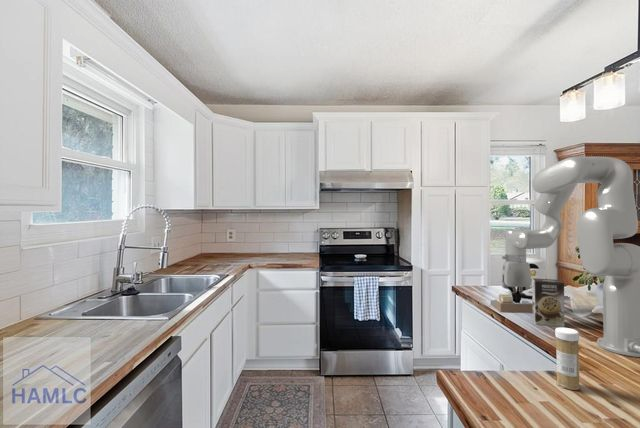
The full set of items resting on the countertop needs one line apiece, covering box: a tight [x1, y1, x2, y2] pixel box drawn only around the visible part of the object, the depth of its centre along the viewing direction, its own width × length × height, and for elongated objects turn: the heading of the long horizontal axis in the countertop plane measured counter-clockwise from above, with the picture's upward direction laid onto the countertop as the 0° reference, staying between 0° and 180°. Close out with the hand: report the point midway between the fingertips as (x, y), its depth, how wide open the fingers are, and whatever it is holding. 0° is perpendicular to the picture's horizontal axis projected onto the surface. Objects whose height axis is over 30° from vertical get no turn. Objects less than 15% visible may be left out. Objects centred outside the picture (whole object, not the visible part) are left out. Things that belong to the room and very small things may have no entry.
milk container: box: [507, 256, 547, 299], centre depth 163 cm, size 17×17×18 cm
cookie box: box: [531, 278, 565, 328], centre depth 123 cm, size 9×6×16 cm
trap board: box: [490, 299, 532, 314], centre depth 141 cm, size 11×15×4 cm
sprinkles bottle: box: [554, 326, 581, 391], centre depth 80 cm, size 5×5×14 cm
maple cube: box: [498, 293, 513, 304], centre depth 140 cm, size 4×4×4 cm
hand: (516, 302), depth 140 cm, fingers closed
